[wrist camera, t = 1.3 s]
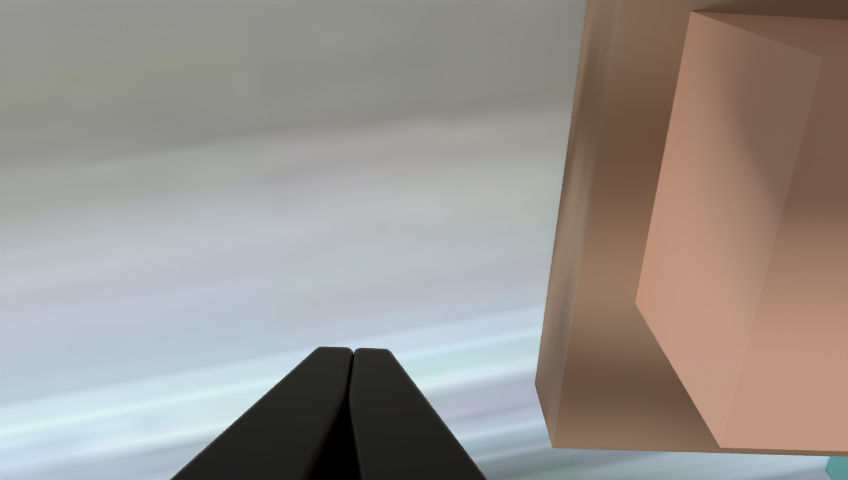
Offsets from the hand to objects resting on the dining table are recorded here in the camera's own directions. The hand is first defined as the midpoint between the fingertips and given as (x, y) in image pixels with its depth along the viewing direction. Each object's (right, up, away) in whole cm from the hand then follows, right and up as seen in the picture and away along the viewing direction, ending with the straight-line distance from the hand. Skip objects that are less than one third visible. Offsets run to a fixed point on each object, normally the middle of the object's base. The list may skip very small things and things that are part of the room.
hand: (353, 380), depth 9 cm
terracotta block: (+9, +3, +9) cm, 13 cm away
